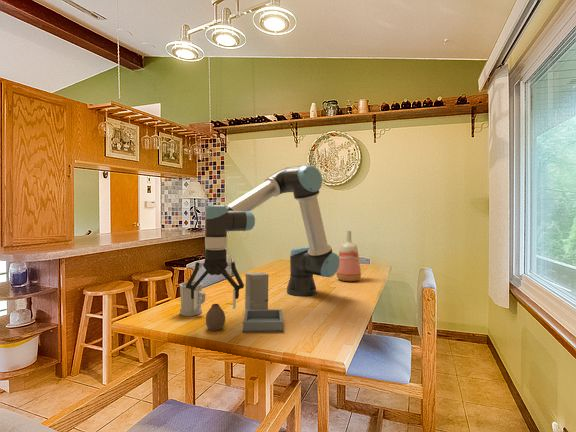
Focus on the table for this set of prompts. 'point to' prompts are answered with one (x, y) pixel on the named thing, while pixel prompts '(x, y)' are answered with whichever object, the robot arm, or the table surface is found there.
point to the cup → (190, 300)
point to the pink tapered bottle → (348, 261)
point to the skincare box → (256, 291)
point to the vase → (215, 318)
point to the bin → (263, 321)
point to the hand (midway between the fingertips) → (215, 307)
